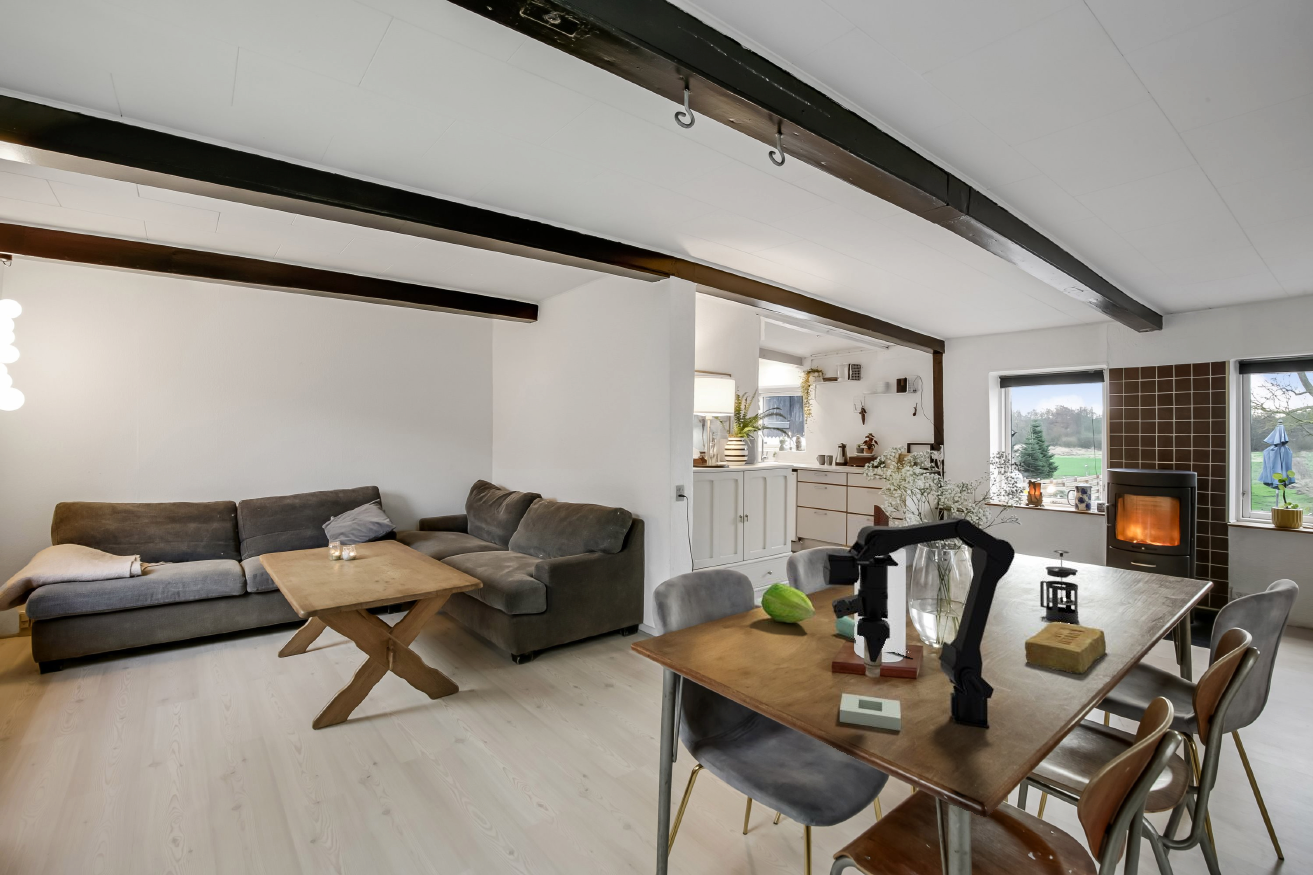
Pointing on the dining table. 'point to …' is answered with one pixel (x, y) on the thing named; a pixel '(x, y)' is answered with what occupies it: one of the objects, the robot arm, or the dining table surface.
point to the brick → (1065, 647)
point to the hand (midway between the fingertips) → (873, 658)
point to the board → (870, 711)
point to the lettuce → (786, 604)
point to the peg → (872, 663)
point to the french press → (1055, 611)
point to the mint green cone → (845, 626)
